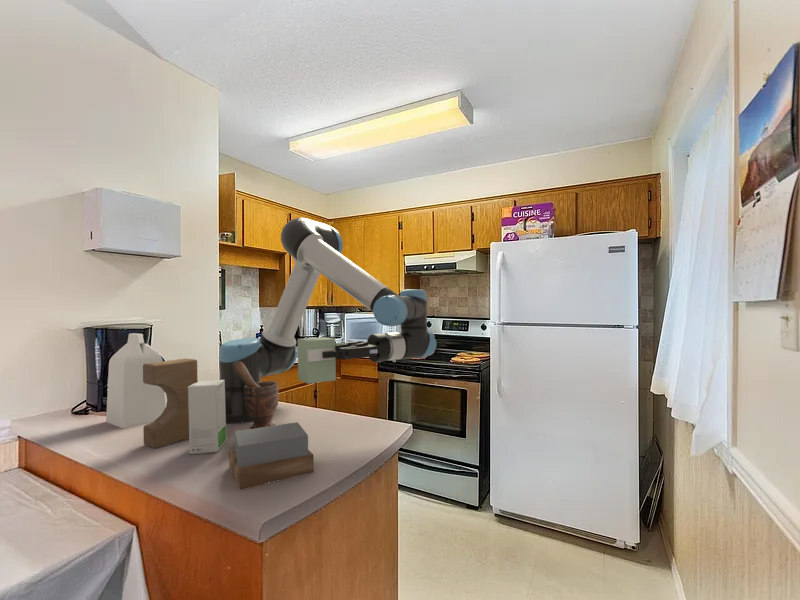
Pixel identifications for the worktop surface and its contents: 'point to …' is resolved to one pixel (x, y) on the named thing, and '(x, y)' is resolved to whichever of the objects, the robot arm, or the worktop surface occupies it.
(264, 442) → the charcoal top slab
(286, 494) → the worktop surface
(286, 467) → the walnut base slab
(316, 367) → the sage block
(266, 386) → the mortar and pestle
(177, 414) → the decorative block
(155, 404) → the milk
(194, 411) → the skincare box
